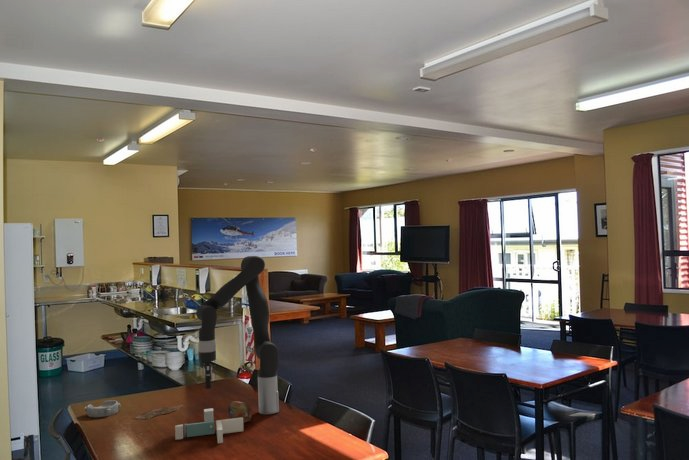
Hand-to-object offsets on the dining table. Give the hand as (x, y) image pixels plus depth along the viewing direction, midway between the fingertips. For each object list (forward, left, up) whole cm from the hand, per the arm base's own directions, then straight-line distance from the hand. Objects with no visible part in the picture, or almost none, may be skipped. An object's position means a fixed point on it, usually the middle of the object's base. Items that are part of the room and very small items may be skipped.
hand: (208, 386), depth 238 cm
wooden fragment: (+22, -30, -18) cm, 41 cm away
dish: (+49, -38, -18) cm, 65 cm away
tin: (-14, -2, -18) cm, 23 cm away
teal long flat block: (+4, +12, -17) cm, 22 cm away
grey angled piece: (0, +17, -17) cm, 25 cm away
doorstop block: (0, 0, -18) cm, 18 cm away
